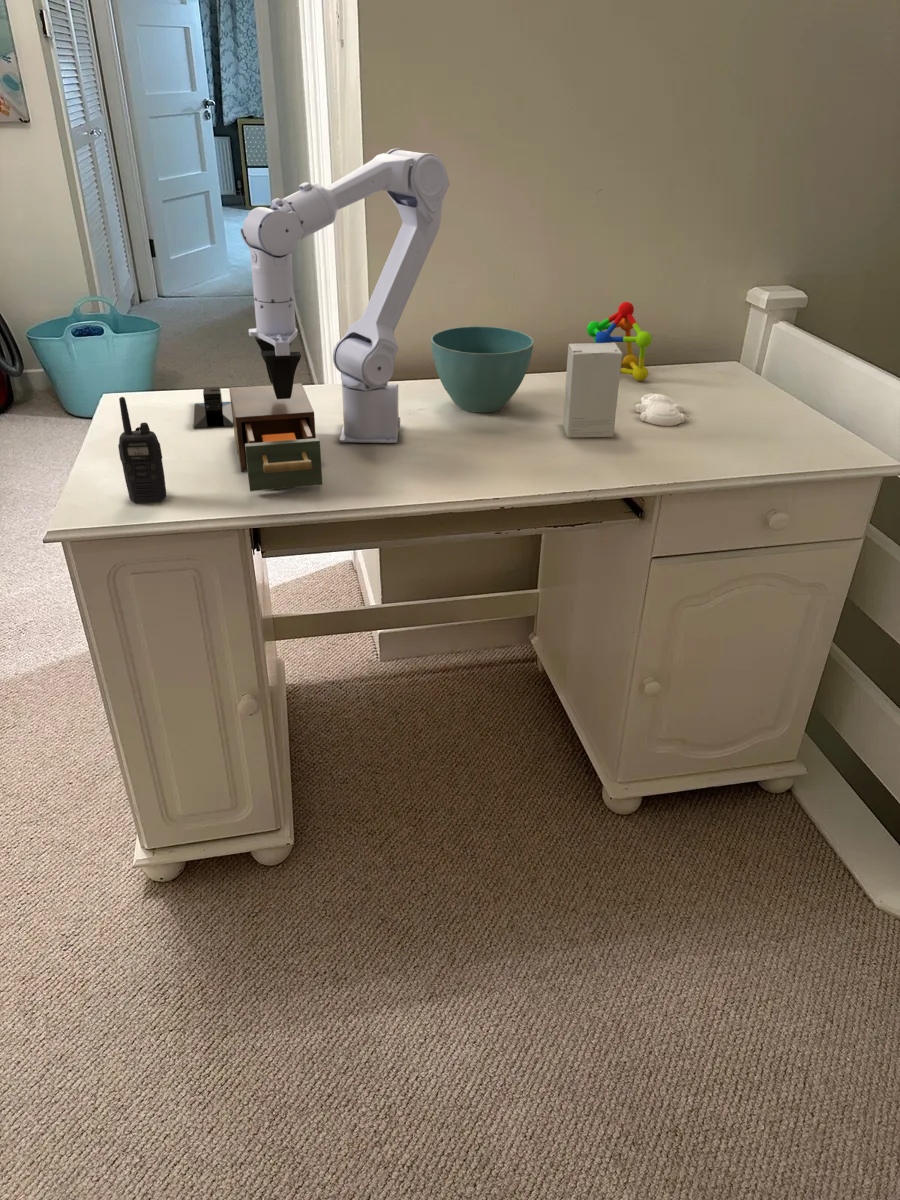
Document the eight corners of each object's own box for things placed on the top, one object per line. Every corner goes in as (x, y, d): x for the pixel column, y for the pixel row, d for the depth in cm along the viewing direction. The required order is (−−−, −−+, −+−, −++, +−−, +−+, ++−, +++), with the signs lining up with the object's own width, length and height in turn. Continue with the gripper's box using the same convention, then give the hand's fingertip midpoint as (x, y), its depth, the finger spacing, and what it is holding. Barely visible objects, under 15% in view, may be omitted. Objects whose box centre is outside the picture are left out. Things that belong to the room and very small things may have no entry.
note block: (300, 472, 126) (298, 444, 124) (267, 475, 125) (264, 446, 123) (296, 460, 130) (294, 432, 128) (264, 462, 129) (261, 434, 127)
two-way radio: (126, 505, 120) (106, 400, 112) (131, 492, 124) (112, 390, 116) (167, 503, 121) (150, 399, 113) (170, 490, 125) (154, 388, 117)
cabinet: (317, 465, 134) (314, 411, 129) (241, 471, 131) (235, 417, 127) (305, 433, 145) (301, 383, 141) (234, 438, 143) (229, 387, 138)
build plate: (236, 427, 147) (233, 401, 145) (192, 430, 146) (188, 403, 143) (234, 403, 157) (231, 378, 155) (193, 405, 156) (189, 380, 153)
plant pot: (473, 429, 149) (476, 359, 142) (410, 401, 161) (410, 334, 154) (548, 409, 159) (554, 342, 152) (484, 384, 170) (487, 321, 164)
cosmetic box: (607, 426, 152) (617, 341, 144) (613, 439, 147) (625, 351, 139) (559, 426, 151) (568, 340, 144) (564, 438, 146) (573, 351, 138)
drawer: (327, 498, 122) (325, 453, 118) (253, 505, 119) (248, 459, 115) (310, 451, 136) (307, 410, 133) (242, 457, 134) (238, 415, 130)
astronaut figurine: (680, 405, 162) (683, 390, 161) (686, 427, 152) (688, 411, 151) (633, 402, 163) (635, 386, 162) (635, 424, 153) (638, 407, 152)
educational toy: (573, 372, 182) (578, 298, 175) (628, 369, 185) (635, 296, 178) (604, 388, 168) (610, 308, 162) (663, 384, 172) (672, 306, 165)
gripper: (241, 288, 130) (249, 377, 137) (250, 311, 118) (258, 407, 125) (288, 287, 132) (294, 375, 139) (302, 309, 120) (307, 404, 127)
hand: (280, 390), depth 132 cm, fingers open, 7 cm apart
